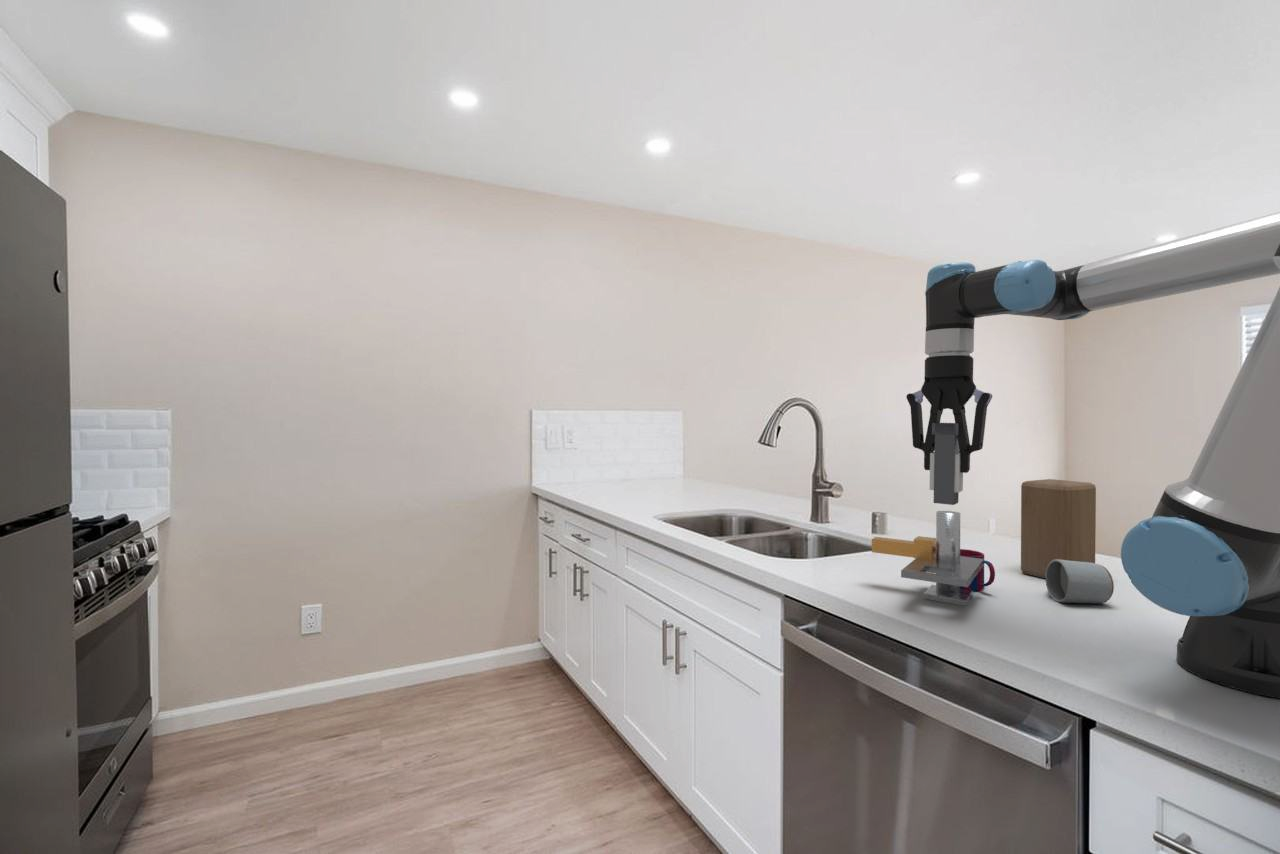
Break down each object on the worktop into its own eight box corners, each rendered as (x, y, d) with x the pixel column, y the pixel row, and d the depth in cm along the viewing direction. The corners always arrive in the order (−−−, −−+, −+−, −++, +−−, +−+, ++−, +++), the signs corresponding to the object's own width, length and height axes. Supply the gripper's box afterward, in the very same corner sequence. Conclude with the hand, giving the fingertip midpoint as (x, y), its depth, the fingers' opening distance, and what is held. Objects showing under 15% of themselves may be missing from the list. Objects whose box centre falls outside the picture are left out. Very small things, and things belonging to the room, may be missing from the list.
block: (1018, 573, 129) (1019, 480, 128) (1047, 568, 133) (1047, 478, 132) (1068, 585, 120) (1069, 485, 119) (1097, 579, 124) (1098, 483, 123)
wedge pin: (961, 502, 105) (963, 423, 104) (956, 505, 102) (958, 423, 102) (935, 500, 107) (937, 422, 107) (930, 502, 105) (932, 422, 104)
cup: (967, 581, 123) (967, 548, 123) (1005, 595, 113) (1005, 559, 113) (938, 582, 122) (938, 549, 122) (974, 597, 112) (974, 561, 112)
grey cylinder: (1117, 609, 105) (1117, 565, 105) (1068, 607, 106) (1068, 564, 106) (1079, 592, 116) (1079, 552, 116) (1034, 591, 116) (1034, 551, 116)
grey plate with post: (880, 579, 124) (880, 503, 124) (983, 595, 113) (984, 511, 113) (853, 601, 110) (853, 514, 110) (967, 622, 99) (967, 525, 99)
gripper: (1007, 354, 101) (1003, 492, 102) (906, 359, 112) (904, 484, 113) (998, 351, 96) (994, 497, 96) (893, 356, 106) (890, 488, 107)
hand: (946, 489), depth 105 cm, fingers closed on wedge pin, 3 cm apart
